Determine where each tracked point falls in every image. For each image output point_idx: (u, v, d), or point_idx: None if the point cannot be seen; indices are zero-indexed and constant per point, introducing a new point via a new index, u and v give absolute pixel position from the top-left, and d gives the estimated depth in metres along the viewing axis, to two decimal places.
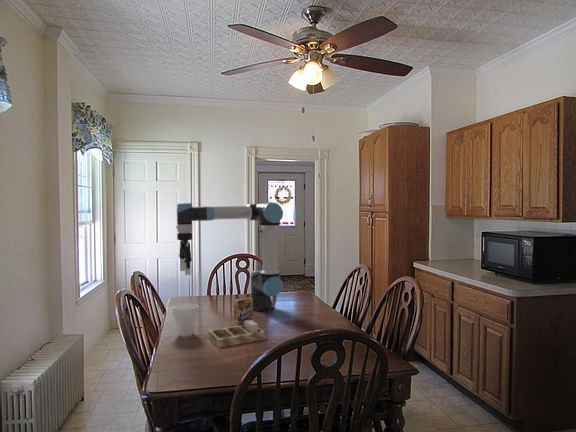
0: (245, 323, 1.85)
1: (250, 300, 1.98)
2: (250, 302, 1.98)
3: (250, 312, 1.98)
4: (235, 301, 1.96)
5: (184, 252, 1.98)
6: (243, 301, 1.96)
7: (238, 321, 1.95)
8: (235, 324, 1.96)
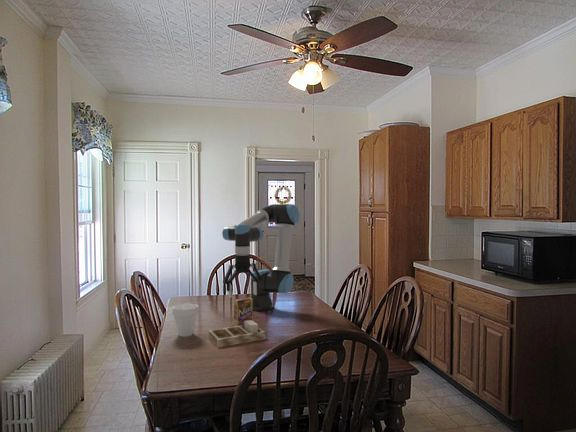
0: (245, 323, 1.85)
1: (250, 300, 1.98)
2: (250, 302, 1.98)
3: (250, 312, 1.98)
4: (235, 301, 1.96)
5: (232, 274, 1.96)
6: (243, 301, 1.96)
7: (238, 321, 1.95)
8: (235, 324, 1.96)
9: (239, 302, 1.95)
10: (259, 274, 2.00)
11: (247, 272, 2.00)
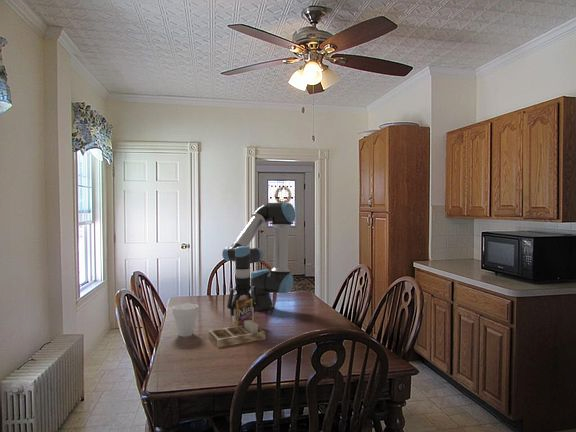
0: (245, 323, 1.85)
1: (250, 300, 1.98)
2: (250, 302, 1.98)
3: (250, 312, 1.98)
4: None
5: (234, 298, 1.97)
6: (243, 301, 1.96)
7: (238, 321, 1.95)
8: (235, 324, 1.96)
9: (239, 302, 1.94)
10: (257, 298, 2.00)
11: None
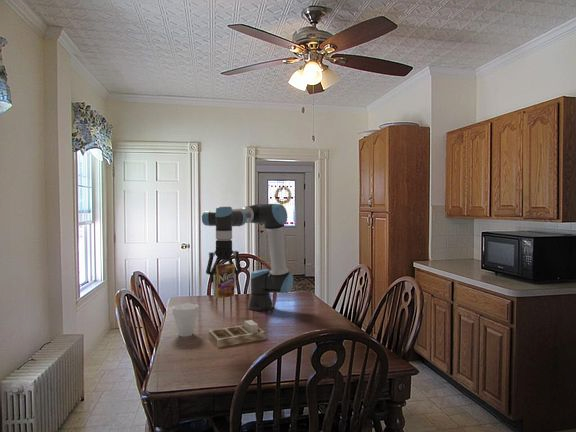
0: (245, 323, 1.85)
1: (232, 265, 1.79)
2: (232, 268, 1.79)
3: (232, 279, 1.79)
4: None
5: (214, 263, 1.78)
6: (224, 266, 1.77)
7: (218, 288, 1.76)
8: (215, 291, 1.77)
9: (219, 267, 1.76)
10: None
11: (228, 260, 1.82)
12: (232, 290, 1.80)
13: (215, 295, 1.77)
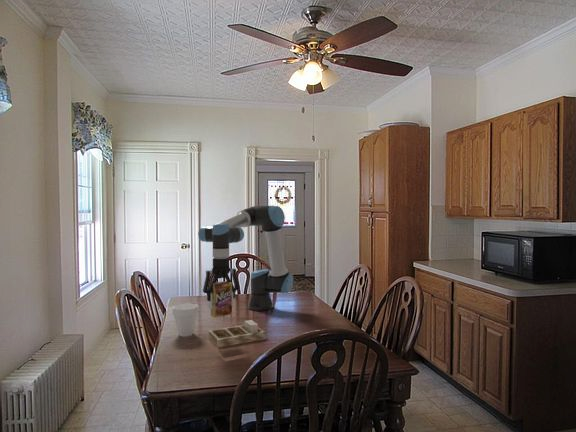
0: (245, 323, 1.85)
1: (229, 284, 1.77)
2: (229, 286, 1.77)
3: (229, 297, 1.77)
4: None
5: None
6: (221, 284, 1.74)
7: (215, 307, 1.73)
8: (212, 310, 1.74)
9: (216, 285, 1.73)
10: (237, 282, 1.79)
11: (225, 278, 1.79)
12: (229, 308, 1.77)
13: (212, 314, 1.74)
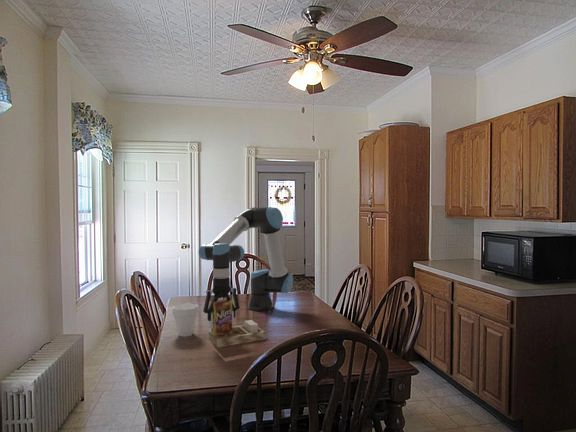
0: (245, 323, 1.85)
1: (229, 302, 1.77)
2: (229, 304, 1.77)
3: (230, 315, 1.77)
4: None
5: (212, 300, 1.76)
6: (221, 303, 1.75)
7: (216, 326, 1.74)
8: (212, 329, 1.75)
9: (217, 304, 1.74)
10: None
11: (225, 297, 1.79)
12: (230, 327, 1.78)
13: (213, 332, 1.75)
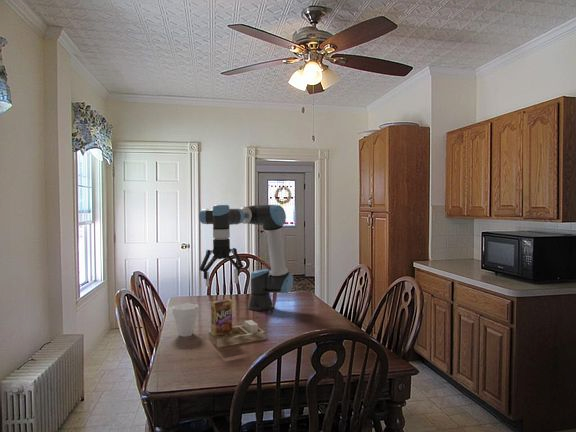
0: (245, 323, 1.85)
1: (229, 302, 1.77)
2: (229, 304, 1.77)
3: (230, 315, 1.77)
4: (212, 303, 1.75)
5: (210, 260, 1.76)
6: (221, 303, 1.75)
7: (216, 326, 1.74)
8: (212, 329, 1.75)
9: (217, 304, 1.74)
10: (240, 260, 1.81)
11: (227, 258, 1.80)
12: (230, 327, 1.78)
13: (213, 332, 1.75)
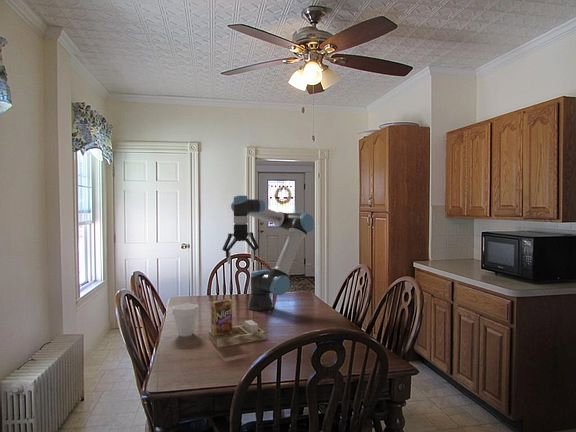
0: (245, 323, 1.85)
1: (229, 302, 1.77)
2: (229, 304, 1.77)
3: (230, 315, 1.77)
4: (212, 303, 1.75)
5: (231, 242, 2.09)
6: (221, 303, 1.75)
7: (216, 326, 1.74)
8: (212, 329, 1.75)
9: (217, 304, 1.74)
10: (256, 243, 2.14)
11: None
12: (230, 327, 1.78)
13: (213, 332, 1.75)
